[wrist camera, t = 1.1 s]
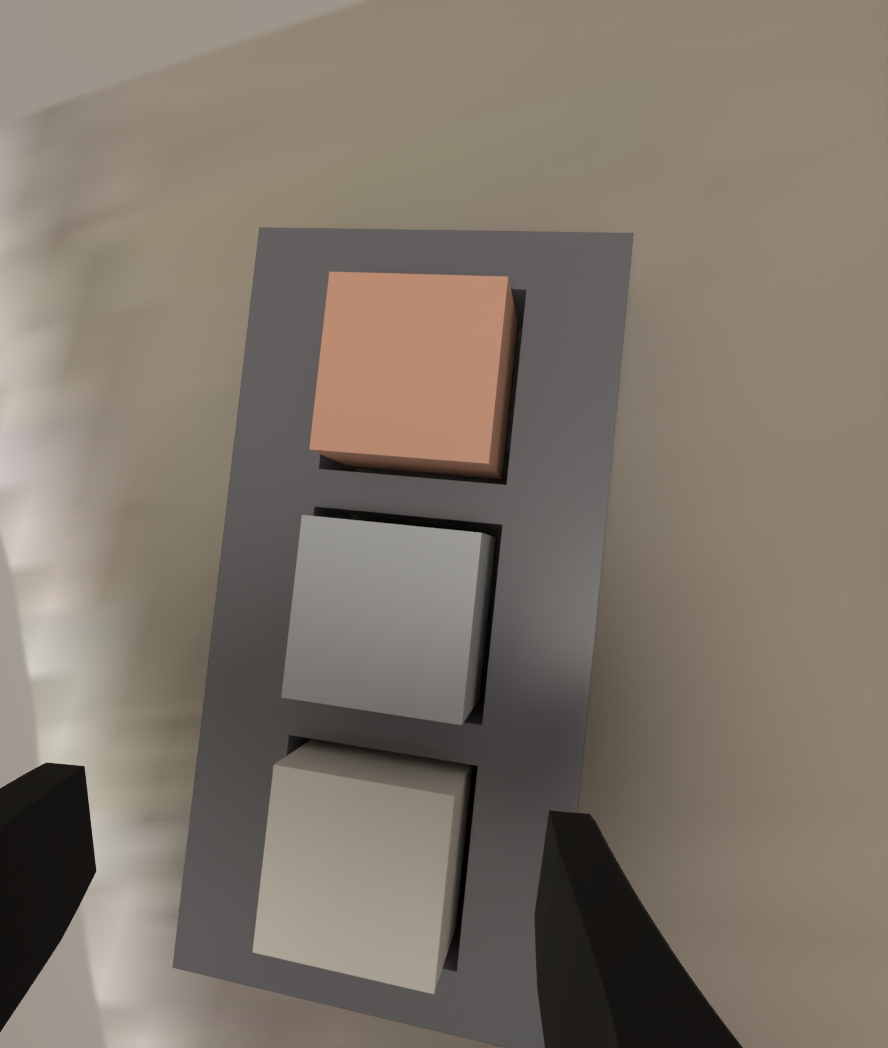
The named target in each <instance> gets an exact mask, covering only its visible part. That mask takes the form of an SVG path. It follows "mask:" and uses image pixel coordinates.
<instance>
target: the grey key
mask: <svg viewBox="0 0 888 1048" xmlns="http://www.w3.org/2000/svg"><path fill="white" fill-rule="evenodd" d="M495 543H496V537H493V536H490V535H487V534H484V533H479V532H469V531H459V530H449V529H439V528H429V527H419V526H409V525H399V524H389V523H379V522H369V521H359V520H349V519H339V518H329V517H319V516H308V515H302V518H301V527H300V536H299V545H298V554H297V563H296V571H295V580H294V589H293V598H292V607H291V616H290V625H289V633H288V642H287V651H286V660H285V669H284V678H283V686H282V695H281V697H282V698H288V699H295V700H301V701H308V702H314V703H321V704H327V705H334V706H340V707H347V708H353V709H360V710H366V711H373V712H379V713H386V714H392V715H399V716H405V717H412V718H418V719H425V720H431V721H438V722H444V723H451V724H457V725H462V724H463V723H464V721H465V720H466V718H467V717H468V715H469V714H470V713H471V711H472V710H473V708H474V707H475V705H476V704H477V702H478V701H479V699H480V689H481V680H482V670H483V660H484V650H485V640H486V631H487V621H488V611H489V601H490V592H491V582H492V572H493V562H494V552H495Z"/></svg>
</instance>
